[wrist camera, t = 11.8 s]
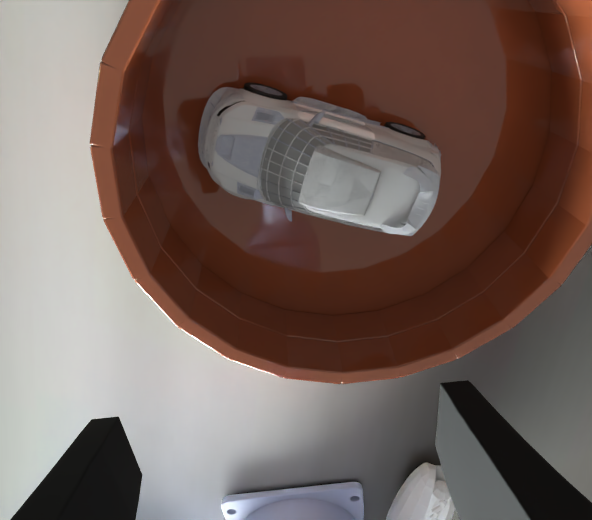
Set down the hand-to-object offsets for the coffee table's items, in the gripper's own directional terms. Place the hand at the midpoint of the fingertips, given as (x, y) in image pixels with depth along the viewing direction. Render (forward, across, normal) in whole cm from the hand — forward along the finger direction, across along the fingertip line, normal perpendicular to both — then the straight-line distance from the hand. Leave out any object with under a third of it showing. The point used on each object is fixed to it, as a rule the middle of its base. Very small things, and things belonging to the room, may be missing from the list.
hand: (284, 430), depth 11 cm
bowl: (+9, -3, -3) cm, 10 cm away
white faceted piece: (+10, -6, +18) cm, 21 cm away
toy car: (+9, -2, -4) cm, 10 cm away
